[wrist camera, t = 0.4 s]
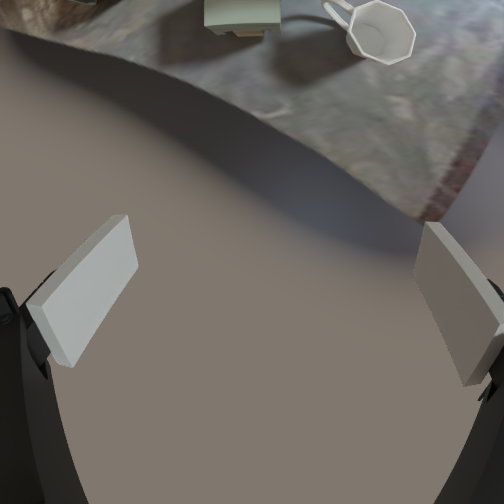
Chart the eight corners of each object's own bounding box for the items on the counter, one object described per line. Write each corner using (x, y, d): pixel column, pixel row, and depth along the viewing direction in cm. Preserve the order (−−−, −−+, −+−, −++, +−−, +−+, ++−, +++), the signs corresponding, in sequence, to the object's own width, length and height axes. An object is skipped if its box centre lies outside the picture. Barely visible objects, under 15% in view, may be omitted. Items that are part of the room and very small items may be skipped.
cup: (369, 80, 31) (390, 79, 24) (301, 28, 29) (306, 12, 22) (402, 43, 28) (429, 35, 21) (336, -10, 26) (348, -32, 19)
